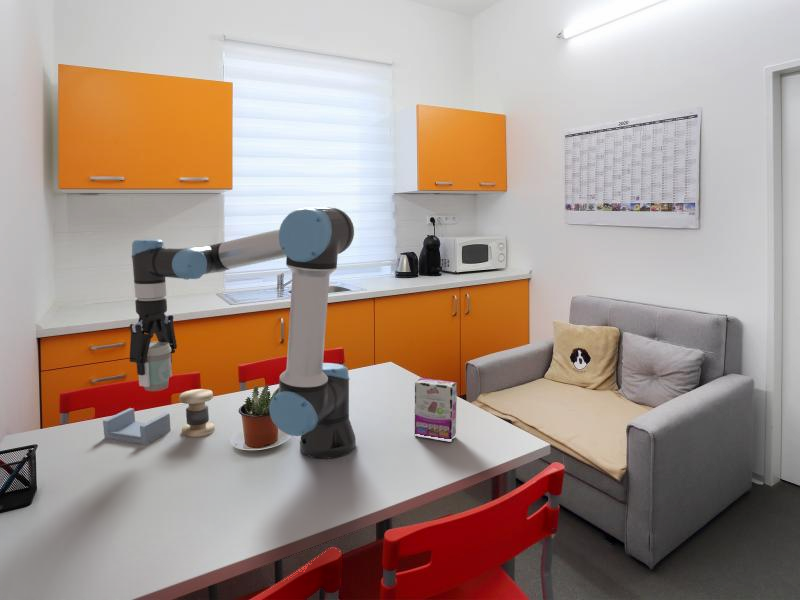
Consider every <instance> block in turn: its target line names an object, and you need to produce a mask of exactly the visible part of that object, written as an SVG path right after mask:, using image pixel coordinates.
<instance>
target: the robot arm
mask: <svg viewBox="0 0 800 600" xmlns="http://www.w3.org/2000/svg"><path fill="white" fill-rule="evenodd" d="M354 236H355V227H354V223H353V222H352V219H351V217H350V216H349V215H348V214H347V213H346V212H345V211H343V210H341V209H340V208H336V207H328V206H327V207H314V206H312V207H310V206H309V207H308V206H306V207H303V208H297V209H295V210H293V211H291V212H290V213H289V214H288V215H287V216H285V217H284V219H283V220H282V222H281V224H280V226H279V229H274V230H270V231H266V232H260V233H256V234H253V235H248V236H244V237H241V238H237V239H232V240H228V241H224V242H220V243H215V244H210V245H203V246H195V247H183V248H171V247H169V248H167V247H165V246H164V241H163V240H162V239H159V238H140V239H135V240H133V242H132V244H131V258H132V261H131V262H132V272H133V279H134V280H133V284H134V296H135V298H136V300H135V302H134V304H135V312H136V314H137V315H138V320H137V322H136V323H135V324H134V323H131V324H130V325H129V331H130V343H129V345H130V348H129V362H130V363H134V364H136V371H137V373H136V374H137V375H138V384H139V385H138V386H139V387H144V388H145V387H149V386H150V379H149V363H148V362H146V358H147V354H148V349H149V345H150V342H152V341H151V339H152V338H154V334H155V335H156V338H157V341H159V342H167V343H169V345H170V347H171V350H172V351H171V352H170V366H169V378H171V377H173V374H172V373H173V372H172V370H173V369H172V362H173V359H172V357H173V356H172V354H175V353H176V350H177V348H178V345H177V339H176V332H175V329H174V315H173V314H171V315H170V314H166V312H167V311H168V301H167V298H166V296H167V285H166V284H167V283H166V278H171V279H172V278H173V279H182V280H186V281H188V280H197V279H200V278H202V277H203V276H204V275H207V274H208V275H209V274H214V273H222V272H225V271H228V270H232V269H236V268H242V267H245V266H250V265H255V264H256V265H257V264H260V263H265V262H270V261H271V262H272V261H275V260H279V259H286V262H285V265H286V267H287V268H288V269H289V270H290V271H291V273H292V274H291V290H290V291H291V292H290V309H289V325H288V340H287V355H286V356H287V357H286V369H285V370H284V371H283V372H282V373H281V374H280V375H279V380H278V381H279V382H278V392H277V393H276V394H274V396H272V398H271V400H270V403H269V410H268V411H269V416H270V418H271V420H272V423H273V424H274V425H276V427H277V429H279V430H280V431H281V432H283V434H286V435H289V436H293V437H300V438H299V450H300V452H301V453H302V454H304V455H306V456H308V457H311V458H316V459H334V458H339V456H340V457H343V456H346V455H348V454H349V452H350V453H351V452H353V451H354V450H355V448H356V446H357V445H356V440H357V439H356V435H355V431H354V429H353V426H352V423H351V421H350V376H349V368H348V367H347V366H345V365H343V364H340V363H332V362H324V355H325V354H324V353H325V352H324V351H325V342H326V341H325V340H326V338H325V337H326V328H327V314H328V301H329V300H328V299H329V287H330V275H331V274H332V273H333V272H335V270H337V267H338V255H339V254H342V253H343V252H345V251H346V250H347V249H348V248H349V247H350V246H351V245H352V242H353V240H354ZM141 357H142V358H141ZM355 445H356V446H355ZM353 449H354V450H353ZM352 450H353V451H352ZM347 453H348V454H347ZM345 454H346V455H345Z"/></svg>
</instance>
